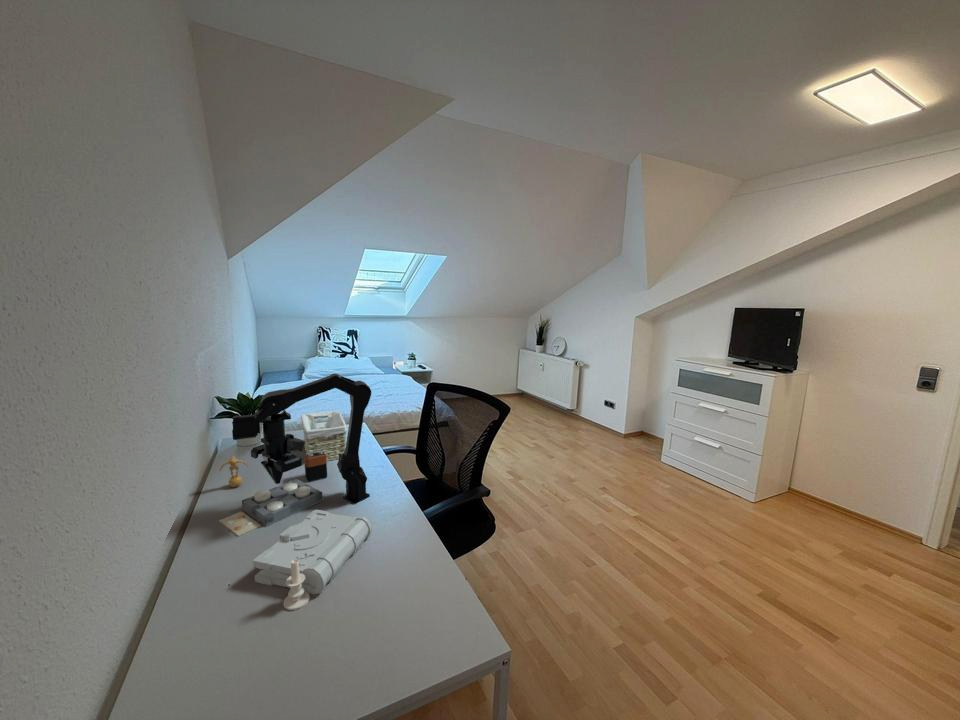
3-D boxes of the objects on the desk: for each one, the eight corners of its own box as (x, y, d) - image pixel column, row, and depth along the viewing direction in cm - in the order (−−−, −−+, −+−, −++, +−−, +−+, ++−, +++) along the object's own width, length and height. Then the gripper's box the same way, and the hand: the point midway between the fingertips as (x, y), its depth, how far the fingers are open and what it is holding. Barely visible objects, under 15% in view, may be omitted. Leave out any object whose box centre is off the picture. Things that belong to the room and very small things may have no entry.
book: (381, 528, 113) (380, 504, 111) (322, 600, 86) (320, 569, 84) (324, 519, 117) (322, 495, 116) (250, 584, 90) (247, 555, 89)
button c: (286, 510, 117) (285, 504, 117) (271, 516, 114) (271, 510, 113) (278, 505, 120) (278, 499, 120) (264, 511, 116) (263, 505, 116)
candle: (302, 588, 88) (300, 548, 87) (314, 600, 85) (312, 558, 83) (279, 602, 84) (276, 559, 83) (290, 614, 81) (287, 571, 79)
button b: (300, 491, 129) (300, 485, 129) (287, 496, 125) (287, 490, 125) (293, 487, 131) (292, 481, 131) (280, 492, 128) (280, 486, 127)
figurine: (250, 481, 137) (247, 449, 135) (249, 489, 132) (246, 456, 130) (222, 486, 133) (219, 453, 131) (220, 494, 128) (217, 460, 126)
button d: (273, 498, 121) (272, 492, 121) (258, 504, 118) (258, 498, 117) (266, 494, 124) (265, 488, 123) (251, 500, 120) (251, 494, 120)
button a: (313, 494, 125) (312, 488, 124) (300, 500, 121) (299, 494, 121) (305, 490, 127) (305, 484, 127) (292, 495, 123) (292, 490, 123)
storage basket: (348, 459, 158) (347, 425, 156) (305, 466, 150) (304, 430, 148) (339, 440, 179) (338, 409, 176) (301, 445, 171) (300, 413, 169)
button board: (322, 500, 126) (322, 492, 125) (266, 526, 111) (266, 516, 111) (297, 486, 134) (296, 479, 134) (242, 509, 120) (241, 500, 119)
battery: (327, 477, 142) (326, 452, 140) (308, 482, 138) (306, 456, 136) (324, 473, 145) (323, 448, 144) (305, 477, 141) (303, 452, 139)
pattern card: (260, 526, 111) (260, 524, 111) (238, 536, 106) (238, 535, 106) (241, 512, 118) (241, 511, 118) (219, 521, 113) (219, 520, 113)
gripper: (317, 433, 115) (319, 482, 118) (284, 421, 125) (286, 466, 128) (280, 445, 106) (284, 497, 109) (248, 430, 116) (251, 478, 119)
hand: (277, 483), depth 116 cm, fingers closed
